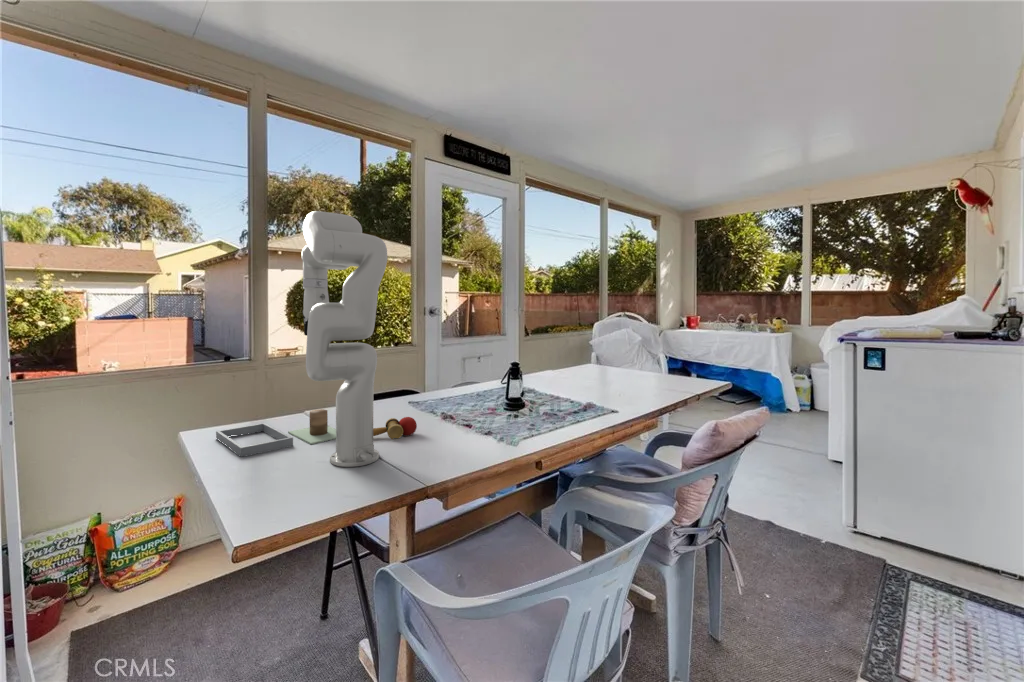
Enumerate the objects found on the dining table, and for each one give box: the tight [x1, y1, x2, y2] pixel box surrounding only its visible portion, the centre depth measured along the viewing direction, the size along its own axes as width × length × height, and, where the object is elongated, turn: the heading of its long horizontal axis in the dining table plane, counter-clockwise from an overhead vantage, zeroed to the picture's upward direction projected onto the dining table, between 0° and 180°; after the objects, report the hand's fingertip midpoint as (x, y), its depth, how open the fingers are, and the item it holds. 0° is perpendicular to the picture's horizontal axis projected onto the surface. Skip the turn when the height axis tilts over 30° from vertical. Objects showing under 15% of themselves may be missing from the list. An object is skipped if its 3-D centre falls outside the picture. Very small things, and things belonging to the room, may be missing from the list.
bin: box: [215, 422, 294, 457], centre depth 132 cm, size 22×14×2 cm, turn 48°
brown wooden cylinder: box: [309, 408, 329, 436], centre depth 141 cm, size 5×5×7 cm
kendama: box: [373, 416, 418, 440], centre depth 141 cm, size 8×6×18 cm
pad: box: [287, 425, 336, 445], centre depth 142 cm, size 16×12×1 cm
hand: (315, 336), depth 151 cm, fingers open, 9 cm apart
